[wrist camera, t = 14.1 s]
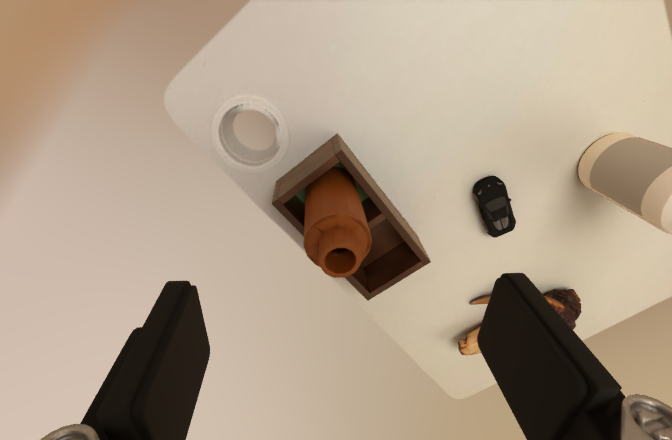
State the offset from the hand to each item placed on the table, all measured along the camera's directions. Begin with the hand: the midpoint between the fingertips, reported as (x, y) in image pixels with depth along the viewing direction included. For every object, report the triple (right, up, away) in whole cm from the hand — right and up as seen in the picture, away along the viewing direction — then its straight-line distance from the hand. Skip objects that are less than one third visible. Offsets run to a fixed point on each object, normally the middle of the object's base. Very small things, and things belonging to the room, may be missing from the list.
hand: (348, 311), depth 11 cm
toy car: (+18, +5, +31) cm, 36 cm away
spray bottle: (+31, +10, +29) cm, 44 cm away
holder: (+1, +4, +30) cm, 30 cm away
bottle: (-1, +6, +28) cm, 28 cm away
